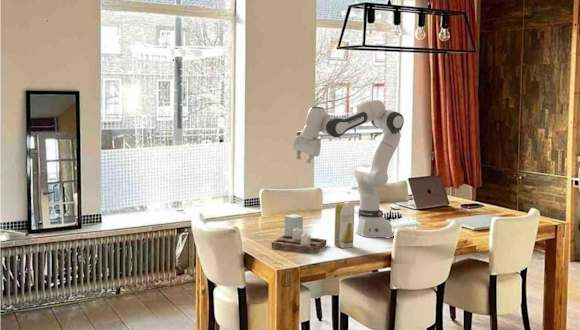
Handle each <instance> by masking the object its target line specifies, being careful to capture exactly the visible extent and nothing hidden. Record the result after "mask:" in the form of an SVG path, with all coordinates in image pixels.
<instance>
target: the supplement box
mask: <svg viewBox="0 0 580 330" xmlns="http://www.w3.org/2000/svg"><path fill="white" fill-rule="evenodd" d="M303 221H304V218H303V216H302V215H298V214H296V213H295V214H293V213H292V214H287V215H284V235H292V232H293V230H294V229H296V228H299V229H302V235H303V234H304V233H303V229H304V228H303V227H304V226H303V225H304V222H303Z"/></svg>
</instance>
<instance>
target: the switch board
mask: <svg viewBox="0 0 580 330" xmlns="http://www.w3.org/2000/svg"><path fill="white" fill-rule="evenodd" d="M326 246H327V239H326V238H325V239H324V238H320V237H319V238H317V237H310V246H307V245H301V240H295V239H292V235H285V234H283V235H282V236H280V237H278V238H277V239H275V240H273V241H271V249H275V250H284V251H293V252H300V253H306V254H307V253H308V254H317V253H318V252H319V251H321V250H322V249H323V248H324V247H326Z"/></svg>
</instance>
